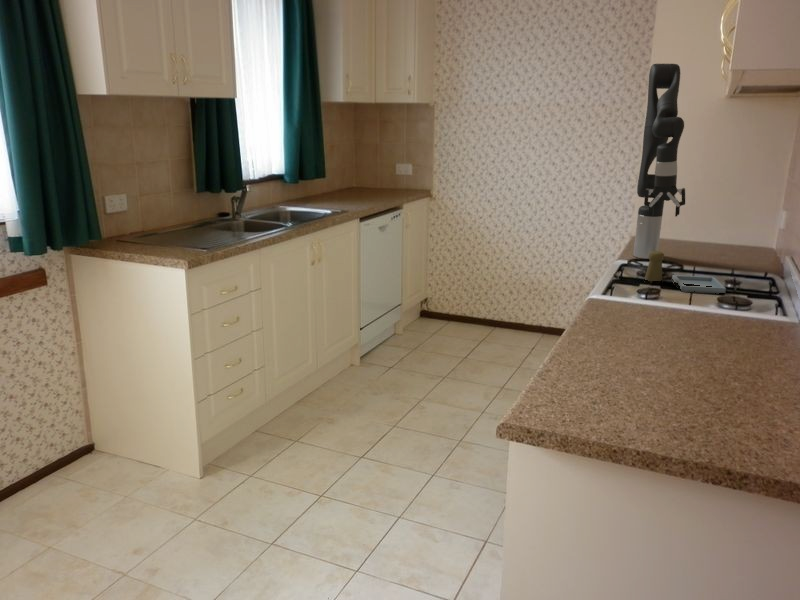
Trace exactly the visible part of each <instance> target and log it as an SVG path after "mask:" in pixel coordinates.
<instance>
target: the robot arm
mask: <svg viewBox="0 0 800 600" xmlns="http://www.w3.org/2000/svg"><path fill="white" fill-rule="evenodd" d="M680 82H681V67H680V65H679V64H677V63H653V64H652V65H651V67H650V69H649V73H648V87H647V89H648V90H647V104H646V106H647V107H646V115H645V120H644V121H645V123H644V128H643V129H644V130H643V137H642V138H643V141H642V151H641V154H642V155H641V160H640V161H641V162H640V168H639V172H638V173H639V175H638V180H637V188H636V189H637V190H636V191H637V192H636V193H637V196H638V197H639V198H644V202H643V205H642V206H640V207H639V208H638V212H637V220H636V226H635V227H636V229H635V236H634V245H633V254H632V256H633V257H635V258H638V259H646V260H649V257H648V256H649V253H650V252H652V251H659V243H660V236H661V229H662V220H663V214H664V212H663V211H664V207H665V206H664V204H665V202H667V201H669V202H670V201H671V202H672V203H674V205H675V213H674V217H676V218H677V217H678V216H679V215H680V211H681V209H680V208H681V206H685V205H686V188H685V187H682V188H677V179H678V178H677V177H678V148H679V144H680V140H681V137H682V134H683V132H684V128H685V121H684V120H683V119H684V118H682V117H680V116H678V113H679V111H678V109H679V108H678V97H679V91H680V85H681V83H680ZM659 89H662V90H663V89H664V90H666V89H667V90H666V91H665V92H663V94H662V95H661V96H660V97H659V95H658V90H659ZM669 138H672V139H671V140H670V141H668V140H669ZM655 159H656V160H655ZM654 160H655V168H654V174H652V173H651V174H650V173H649V170H650V168H651V166H652V164H653V162H654ZM677 193H678V194H679V195H680V196H681V201H679V200H678V199H677V197H676V195H677ZM650 198H651V199H652V200H651V201H649V199H650Z"/></svg>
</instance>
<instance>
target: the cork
mask: <svg viewBox="0 0 800 600" xmlns="http://www.w3.org/2000/svg"><path fill="white" fill-rule="evenodd" d="M648 257H649V259H648V260H649V262H648V264H647V267H646V268H647V269H646V272H645V275H644V279H645V280H648V281H661V280H662V281H663V261H664V259H665V253H664V252H663V251H659V250H658V251H652V252H650V253H649V256H648Z"/></svg>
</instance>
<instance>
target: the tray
mask: <svg viewBox="0 0 800 600" xmlns="http://www.w3.org/2000/svg"><path fill="white" fill-rule="evenodd" d="M672 279H673V280H674V282H676V283H678V285H679V286H680V289H681V291H680V292H683V293H696V294H697V293H698V294H700V293H701V294H715V293H716V294H719V293H725V294H726V291H727V288H726V287H725V286H724V285H723V284H722V283H721V282H720V281H719V280H718V279H717V278H715V276H700V275H698V276H696V275H679V274H672V276H671V280H672ZM674 282H673V283H674ZM683 283H684V284H694V285H700V286H686V285H684V284H683ZM706 286H712V287H706ZM694 291H695V292H694ZM719 295H720V294H719Z"/></svg>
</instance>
